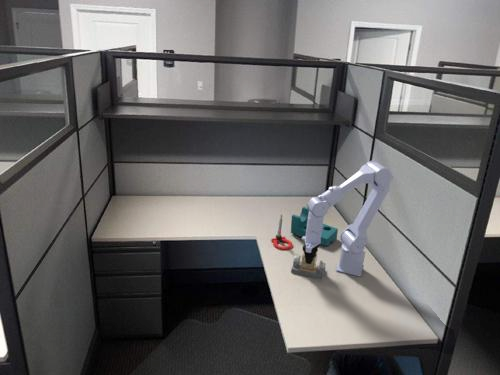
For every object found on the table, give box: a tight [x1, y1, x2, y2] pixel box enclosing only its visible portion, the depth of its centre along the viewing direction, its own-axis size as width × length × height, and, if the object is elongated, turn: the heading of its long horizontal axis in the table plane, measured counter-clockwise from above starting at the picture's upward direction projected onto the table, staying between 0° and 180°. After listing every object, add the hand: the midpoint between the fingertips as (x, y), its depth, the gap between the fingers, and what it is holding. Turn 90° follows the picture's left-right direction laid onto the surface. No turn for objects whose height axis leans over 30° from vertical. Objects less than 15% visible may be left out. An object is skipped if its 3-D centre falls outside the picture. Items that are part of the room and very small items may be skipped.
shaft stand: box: [290, 254, 327, 281], centre depth 157 cm, size 12×7×6 cm, turn 70°
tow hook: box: [270, 214, 294, 251], centre depth 174 cm, size 8×13×9 cm
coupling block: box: [301, 252, 318, 270], centre depth 156 cm, size 5×4×5 cm
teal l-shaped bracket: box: [290, 206, 339, 247], centre depth 184 cm, size 18×11×10 cm, turn 54°
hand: (309, 260), depth 156 cm, fingers closed on coupling block, 4 cm apart
